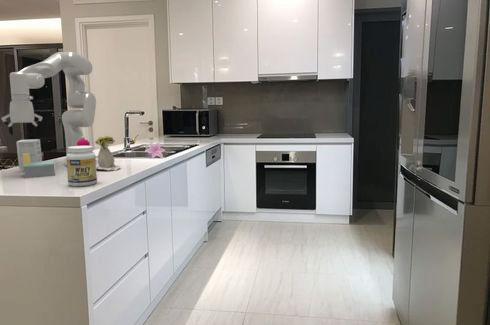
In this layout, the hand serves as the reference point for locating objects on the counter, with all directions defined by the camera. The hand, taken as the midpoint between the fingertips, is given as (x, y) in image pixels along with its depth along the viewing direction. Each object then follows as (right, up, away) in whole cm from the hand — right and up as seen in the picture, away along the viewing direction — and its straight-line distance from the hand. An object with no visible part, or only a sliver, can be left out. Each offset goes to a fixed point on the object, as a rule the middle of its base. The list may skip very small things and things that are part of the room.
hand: (23, 134), depth 192 cm
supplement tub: (+33, -23, -12) cm, 42 cm away
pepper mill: (+27, -20, +6) cm, 35 cm away
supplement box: (-7, -18, +20) cm, 28 cm away
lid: (+5, -14, +5) cm, 16 cm away
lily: (+48, -10, +68) cm, 84 cm away
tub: (+5, -20, +6) cm, 22 cm away
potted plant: (+32, -17, +25) cm, 44 cm away
